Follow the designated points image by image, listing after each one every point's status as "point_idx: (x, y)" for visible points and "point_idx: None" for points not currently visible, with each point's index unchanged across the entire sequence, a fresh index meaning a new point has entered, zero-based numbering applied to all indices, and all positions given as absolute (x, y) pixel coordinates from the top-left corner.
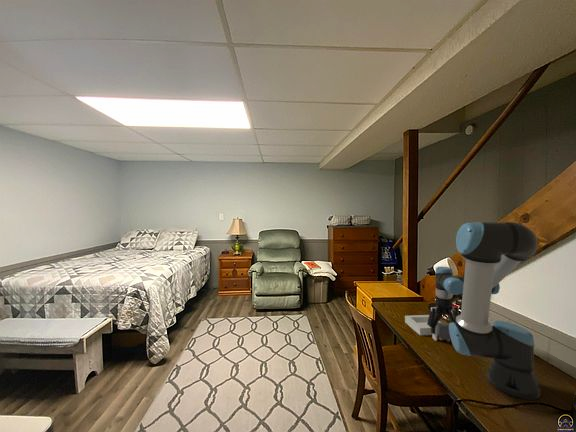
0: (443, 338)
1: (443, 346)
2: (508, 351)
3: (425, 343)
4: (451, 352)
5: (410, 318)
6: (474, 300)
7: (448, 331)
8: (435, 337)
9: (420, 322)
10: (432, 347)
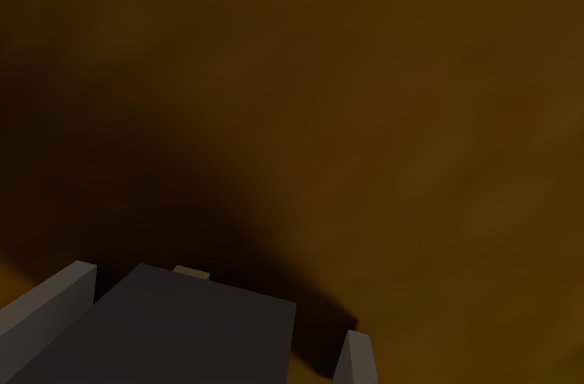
0: (280, 307)
1: (377, 200)
2: None
3: (554, 339)
4: (417, 29)
5: None
6: None
7: (135, 367)
8: (375, 372)
9: None
10: (562, 230)
